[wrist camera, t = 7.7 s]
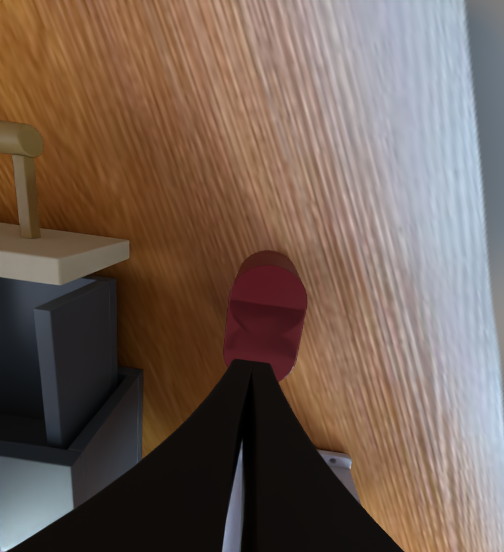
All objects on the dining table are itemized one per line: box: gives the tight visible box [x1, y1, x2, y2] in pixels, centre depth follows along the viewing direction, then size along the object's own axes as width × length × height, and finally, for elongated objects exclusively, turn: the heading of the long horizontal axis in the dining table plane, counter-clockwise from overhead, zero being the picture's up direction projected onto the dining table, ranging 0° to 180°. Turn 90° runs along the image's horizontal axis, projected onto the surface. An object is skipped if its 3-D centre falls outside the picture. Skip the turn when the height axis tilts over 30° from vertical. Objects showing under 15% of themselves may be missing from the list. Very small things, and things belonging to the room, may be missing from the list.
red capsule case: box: [223, 251, 307, 382], centre depth 16 cm, size 4×7×4 cm, turn 172°
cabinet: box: [0, 366, 143, 552], centre depth 18 cm, size 16×14×8 cm
